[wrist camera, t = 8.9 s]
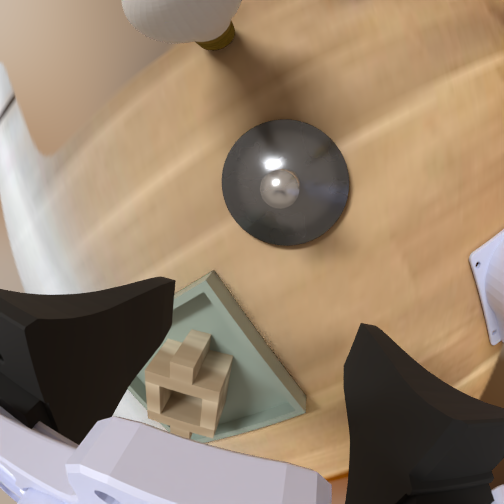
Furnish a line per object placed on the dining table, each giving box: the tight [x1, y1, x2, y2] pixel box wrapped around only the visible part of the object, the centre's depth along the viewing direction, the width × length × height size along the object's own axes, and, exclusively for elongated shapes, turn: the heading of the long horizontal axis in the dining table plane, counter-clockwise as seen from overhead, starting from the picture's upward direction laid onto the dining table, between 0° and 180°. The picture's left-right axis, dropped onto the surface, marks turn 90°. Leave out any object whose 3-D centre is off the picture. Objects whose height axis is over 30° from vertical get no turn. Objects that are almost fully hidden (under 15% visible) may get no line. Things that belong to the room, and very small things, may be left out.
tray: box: [128, 270, 306, 443], centre depth 23 cm, size 13×13×2 cm
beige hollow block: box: [145, 329, 233, 439], centre depth 22 cm, size 8×5×4 cm, turn 171°
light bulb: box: [122, 0, 242, 50], centre depth 12 cm, size 6×6×10 cm
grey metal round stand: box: [222, 120, 349, 246], centre depth 17 cm, size 8×8×6 cm
